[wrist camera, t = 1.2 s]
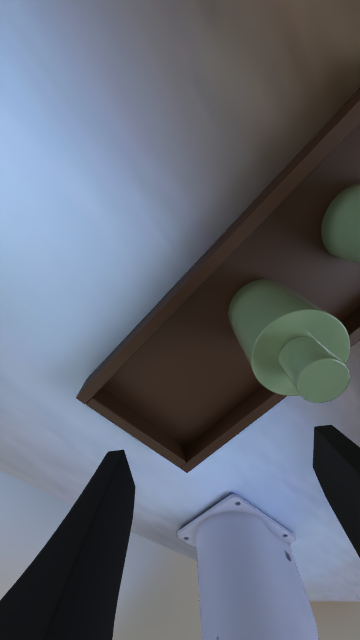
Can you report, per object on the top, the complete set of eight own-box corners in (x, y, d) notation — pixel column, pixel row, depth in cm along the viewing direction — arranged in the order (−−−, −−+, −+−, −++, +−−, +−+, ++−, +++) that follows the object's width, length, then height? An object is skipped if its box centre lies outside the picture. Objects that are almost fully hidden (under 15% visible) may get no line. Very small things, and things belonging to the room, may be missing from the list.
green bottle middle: (308, 310, 17) (406, 379, 10) (257, 353, 18) (311, 444, 11) (265, 264, 16) (338, 303, 9) (214, 313, 17) (241, 384, 10)
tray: (472, 218, 16) (518, 218, 14) (186, 449, 23) (187, 473, 21) (379, 67, 13) (417, 38, 11) (86, 379, 20) (75, 398, 18)
